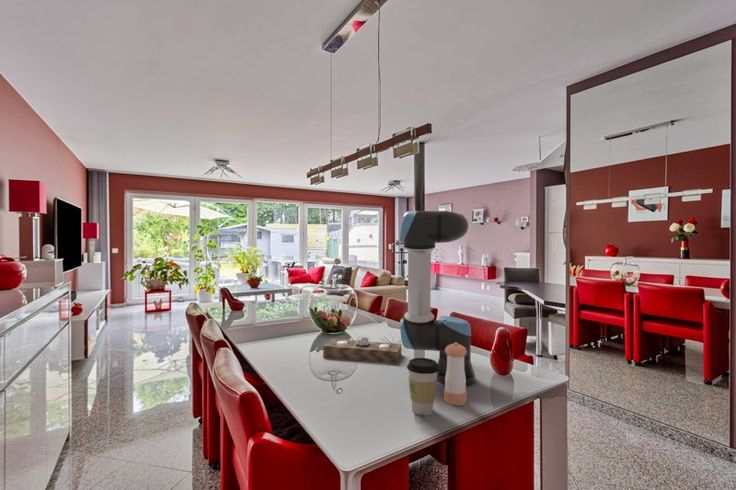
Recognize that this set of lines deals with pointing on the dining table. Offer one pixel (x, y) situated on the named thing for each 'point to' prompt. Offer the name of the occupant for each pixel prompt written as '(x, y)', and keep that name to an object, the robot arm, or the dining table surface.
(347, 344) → the left knob
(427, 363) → the coffee cup
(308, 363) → the dining table surface
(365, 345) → the pot dial
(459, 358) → the salt shaker
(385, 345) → the right knob
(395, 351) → the block
